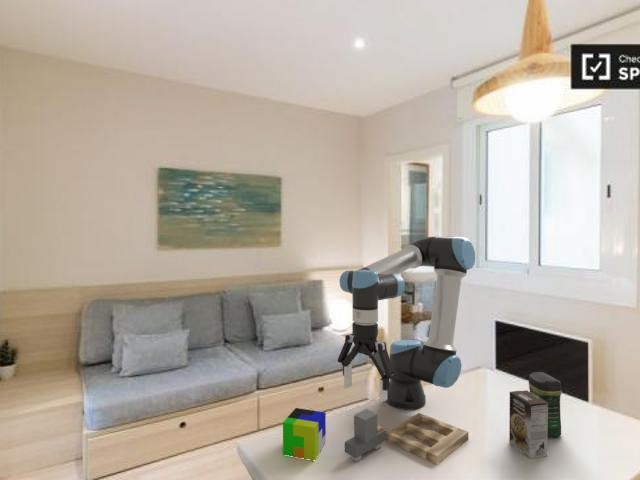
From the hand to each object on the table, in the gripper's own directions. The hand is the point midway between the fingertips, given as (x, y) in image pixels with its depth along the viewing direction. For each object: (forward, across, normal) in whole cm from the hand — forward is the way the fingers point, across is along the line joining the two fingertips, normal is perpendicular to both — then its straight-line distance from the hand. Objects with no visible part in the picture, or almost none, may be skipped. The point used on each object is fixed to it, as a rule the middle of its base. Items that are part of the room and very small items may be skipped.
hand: (364, 393), depth 118 cm
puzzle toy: (+18, -14, -11) cm, 26 cm away
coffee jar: (+17, +33, +52) cm, 64 cm away
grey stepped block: (+18, 0, 0) cm, 18 cm away
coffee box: (+18, +33, +36) cm, 52 cm away
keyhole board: (+18, +9, +20) cm, 28 cm away
